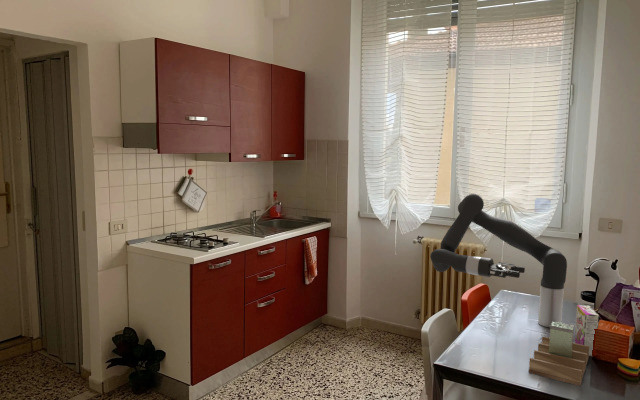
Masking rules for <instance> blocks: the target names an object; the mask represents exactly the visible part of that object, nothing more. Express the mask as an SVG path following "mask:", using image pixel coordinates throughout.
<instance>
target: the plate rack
mask: <svg viewBox="0 0 640 400" xmlns="http://www.w3.org/2000/svg"><path fill="white" fill-rule="evenodd" d="M549 341H550V337H547V336H542V337H541V343H540V342H538V345H537V350H533V358H532V357H529V362H528V363H529V365H528V373H529V374H532V375H536V376H539V377H544V378H548V379H552V380H555V381H560V382H563V383H567V384H571V385H576V386H579V387H580V386H581V385H582V381H583V378H584V375H585V371H586V368H587V364H588V361H589V357H590V356H589V346H586V345H581V344H576V343H574V342H573V347H572V359H571V358H567V357H562V356H558V355H554V354H549Z"/></svg>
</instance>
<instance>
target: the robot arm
mask: <svg viewBox="0 0 640 400" xmlns="http://www.w3.org/2000/svg"><path fill="white" fill-rule="evenodd" d="M484 204H485V202H484V199H483V198H482V197H481V196H480V195H479V194H476V193H469V194H467V195H466V196H465V197H463V199H462V200H461V201H460V203H459V204H458V205H457V211H458V216H457V217H456V218H455V220H454V222H453V223H452V224H451V225H450V227H449V228H448V230H447V231H446V233H445V235H444V236H443V238H442V240H441V242H440V244H439V245H440V248H437V249H434V250H432V251H431V252H430V260H431V261H430V262H432V263H431V264H432V266H433V268H434V270H435V271H436V272H439V273H444V272H447V271H448V270H449V268H450V267H451V268H452V269H453V270H454V271H456V272H458V273H465V274H469V275H473V276H480V277H487V278H491V277H499V278H504V279H505V278H508V277H509V278H517V279H519V278H520V275H521V274H524V273H525V272H526V267H524V266H516V265H515V264H514V263H507V262H501V261H499V262H498V263H494V259H493V258H489V257H484V256H483V257H482V256H475V255H474V256H473V255H465V254H464V255H463V254H459V253H456V252H457V249H458V248H459V245H460V244H461V241H462V240H463V238H464V237H465V235H466V232H467V231H468V230H469V227H470V225H471V224H472V223H474V224H475V225H477V226H479V227H481V228H483V229H484V230H486V231H488V232H489V233H490V234H493V235H494V236H496V237H497V238H498V239H500V240H501V241H503V242H505V243H506V244H507V245H509V246H510V247H513V248H515V249H517V250H520V251H522V252H524V253H526V254H528V255H530V256H531V257H533V258H534V259H535V260H537V262H539V263H540V264H541V265H542V267H543V269H542V276H541V280H540V286H539V287H540V289H539V290H540V291H539V304H538V305H539V306H538V307H539V308H538V319H537V323H538V324H539V325H540V326H542V327H546V328H550V325H551V323H552V321H554V322H559V323H562V317H563V305H564V291H565V290H564V289H565V283H566V279H567V271H568V270H567V268H568V262H567V261H568V260H567V258H566V257H565V255H564V254H563V253H562V252H560V251H559V250H558V249H555V248H554V247H552V246H550V245H548V244H545V243H543V242H542V241H540V240H538V239H537V238H536V237H534V236H533V235H532V234H531V233H530V232H529V231H527V230H526V229H524V228H522V227H521V226H519V225H518V224H516V223H515V222H513V221H511V220H510V219H506V218H502V217H497V216H494V215H490V214H489V213H487V212H486V211H484V210H483V209H484V206H485V205H484Z"/></svg>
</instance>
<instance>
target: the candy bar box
mask: <svg viewBox="0 0 640 400" xmlns="http://www.w3.org/2000/svg"><path fill="white" fill-rule="evenodd" d="M575 315H576V316H575V326H574V329H575V330H574V341H573V343H576V344H581V345H586V346H589V357H593V356H592V350H593V340H594V334H595V330H594V329H597V328H598V329H599V323H600V322H599V321H600V315H599V314H598V312H596V311H595V309H593V307H591V306H590V305H585V304H584V305H583V304H576V313H575Z"/></svg>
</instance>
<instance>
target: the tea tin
mask: <svg viewBox="0 0 640 400" xmlns="http://www.w3.org/2000/svg"><path fill="white" fill-rule="evenodd" d="M574 329H575V325H573V324H568V323H564V322H561V323H559V322H554V321H552V323H551V325H550V327H549V338H550V341H549V354H554V355H558V356H562V357H567V358H571V359H572V347H573V343H574V334H575V330H574Z"/></svg>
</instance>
